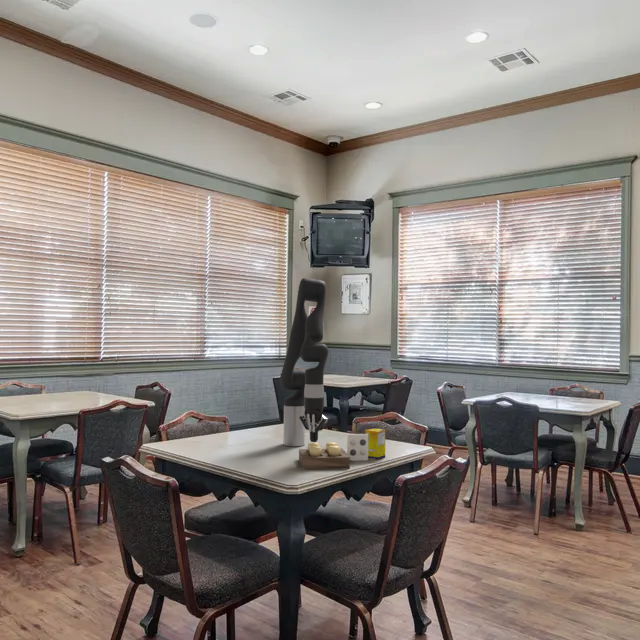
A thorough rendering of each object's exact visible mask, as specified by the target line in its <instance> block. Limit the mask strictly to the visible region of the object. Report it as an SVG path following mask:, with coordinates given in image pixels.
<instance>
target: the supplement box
mask: <svg viewBox="0 0 640 640" xmlns="http://www.w3.org/2000/svg"><path fill="white" fill-rule="evenodd" d="M364 434H368V457H369V458H368V459H372V458H375V459H374V460H378V459H379V458H380V459H383V458H386V429H385V428H384V429H382V428H373V427H372V428H369V429H365V431H364Z"/></svg>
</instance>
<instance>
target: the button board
mask: <svg viewBox="0 0 640 640" xmlns="http://www.w3.org/2000/svg"><path fill="white" fill-rule="evenodd" d="M299 460H300V461H299ZM298 461H299V463H300V465H301V467H302V470H329V469H330V470H337V469H338V468H348V469H351V465H350V464H351V463H350V462H351V461H350V457H349V456H348V455H347V451H345V450H344V449H343V448H340V456H329V453H328V452H326V448H321V456H316V457H312V456H310V453H309V452H308V448H299V449H298ZM333 468H334V469H333ZM336 468H337V469H336Z"/></svg>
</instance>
